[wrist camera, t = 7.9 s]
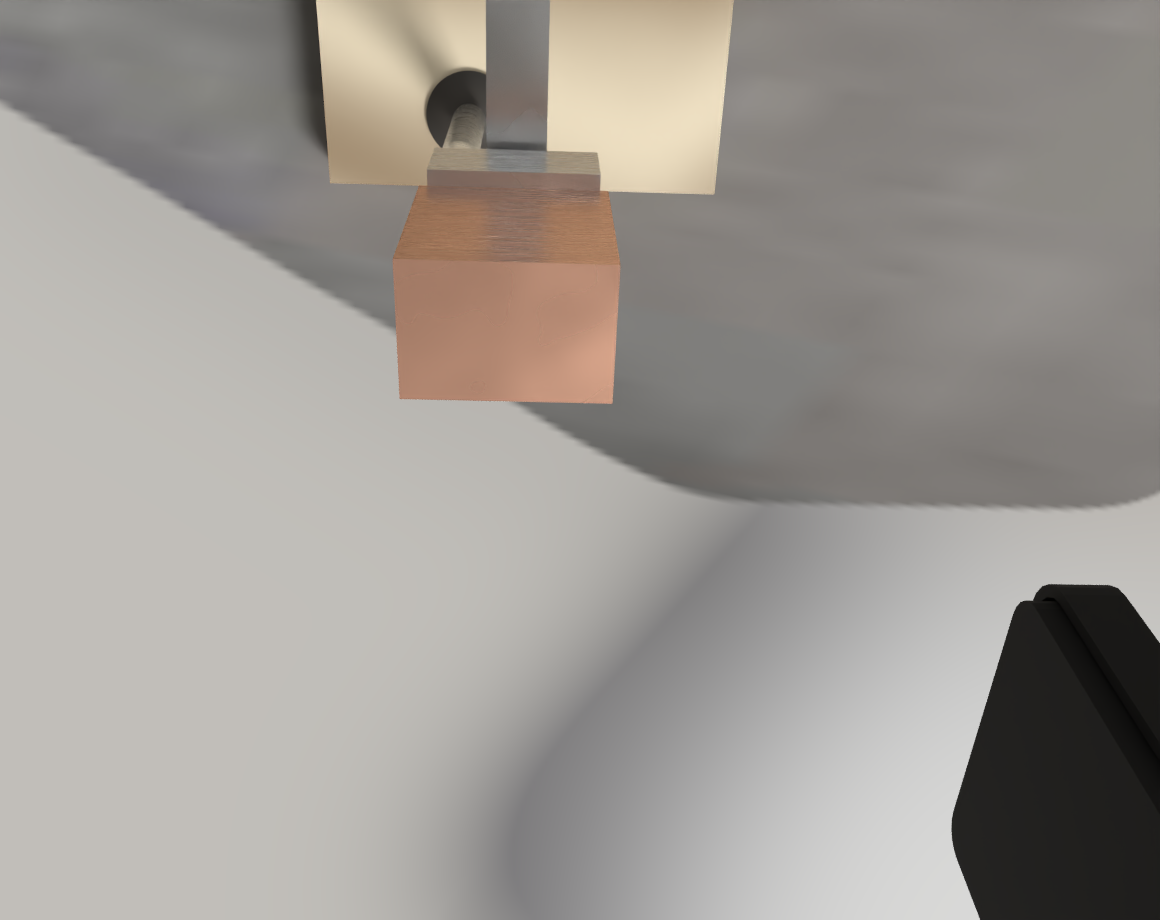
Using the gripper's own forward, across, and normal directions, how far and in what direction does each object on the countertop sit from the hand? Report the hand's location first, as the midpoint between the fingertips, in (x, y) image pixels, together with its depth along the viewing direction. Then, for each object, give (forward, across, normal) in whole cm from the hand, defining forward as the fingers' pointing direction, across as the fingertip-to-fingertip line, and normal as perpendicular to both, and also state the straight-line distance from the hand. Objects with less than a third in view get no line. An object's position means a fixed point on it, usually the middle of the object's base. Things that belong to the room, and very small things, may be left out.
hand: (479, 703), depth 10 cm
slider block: (+23, 0, +1) cm, 23 cm away
